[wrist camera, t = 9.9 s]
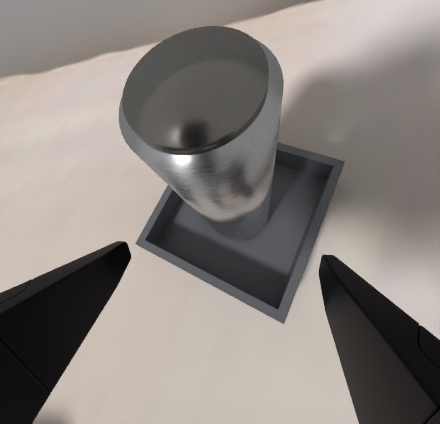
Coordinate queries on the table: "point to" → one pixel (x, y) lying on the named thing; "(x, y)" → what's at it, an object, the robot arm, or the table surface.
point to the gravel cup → (209, 123)
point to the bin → (257, 247)
